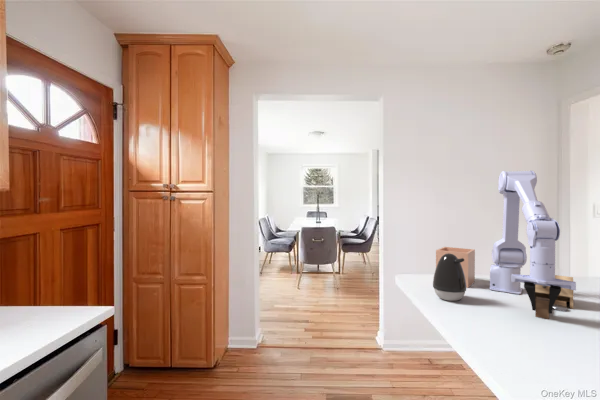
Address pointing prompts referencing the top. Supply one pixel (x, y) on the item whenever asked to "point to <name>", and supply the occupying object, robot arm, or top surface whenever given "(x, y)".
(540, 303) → the wooden mallet
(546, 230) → the robot arm
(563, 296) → the bread box
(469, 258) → the utensil crock
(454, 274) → the black rounded egg shape
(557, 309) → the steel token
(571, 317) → the top surface
